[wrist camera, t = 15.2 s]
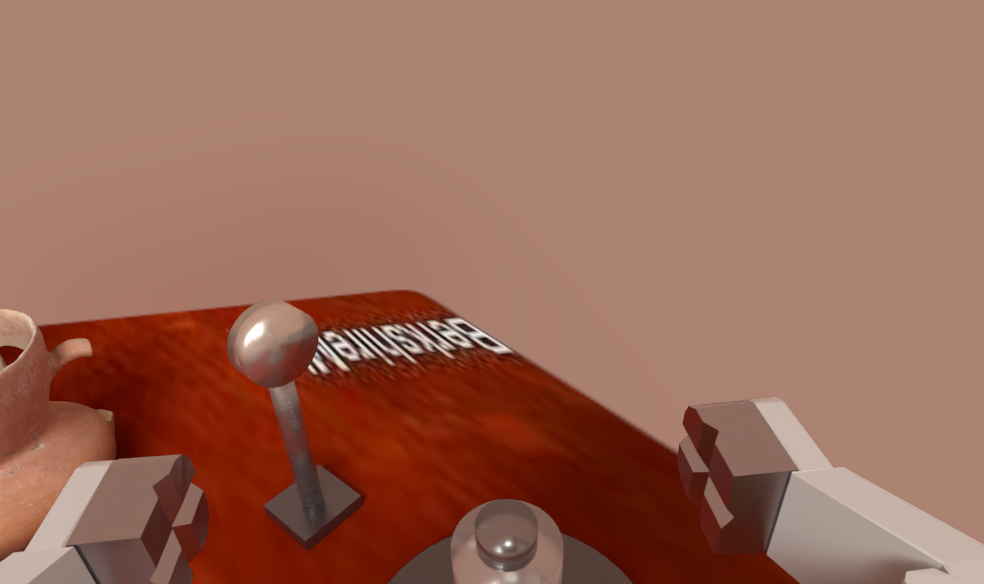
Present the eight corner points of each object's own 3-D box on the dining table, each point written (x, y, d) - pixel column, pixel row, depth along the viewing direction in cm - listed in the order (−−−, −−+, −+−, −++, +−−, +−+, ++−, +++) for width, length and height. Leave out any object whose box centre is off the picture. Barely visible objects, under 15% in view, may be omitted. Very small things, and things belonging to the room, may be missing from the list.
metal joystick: (266, 514, 46) (199, 311, 37) (321, 473, 50) (272, 276, 40) (307, 550, 44) (246, 340, 34) (363, 504, 47) (320, 301, 38)
